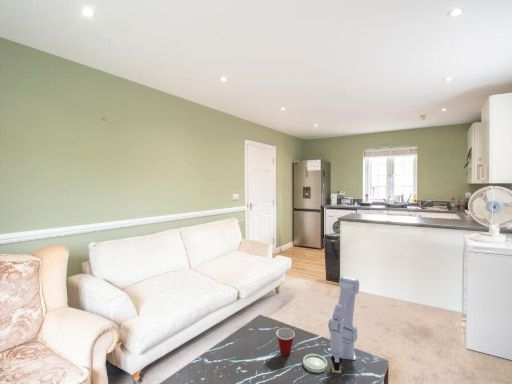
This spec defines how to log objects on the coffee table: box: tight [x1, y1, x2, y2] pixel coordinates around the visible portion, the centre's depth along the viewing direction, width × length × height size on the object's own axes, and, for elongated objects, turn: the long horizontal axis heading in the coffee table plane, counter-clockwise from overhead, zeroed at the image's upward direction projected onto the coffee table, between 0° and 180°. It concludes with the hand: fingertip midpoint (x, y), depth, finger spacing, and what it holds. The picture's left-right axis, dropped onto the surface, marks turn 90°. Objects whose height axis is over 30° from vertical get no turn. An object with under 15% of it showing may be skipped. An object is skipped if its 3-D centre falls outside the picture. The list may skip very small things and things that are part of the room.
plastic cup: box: [275, 327, 296, 356], centre depth 159 cm, size 11×11×12 cm
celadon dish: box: [302, 353, 328, 374], centre depth 149 cm, size 13×13×2 cm
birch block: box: [331, 361, 342, 374], centre depth 144 cm, size 4×4×4 cm
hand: (336, 367), depth 144 cm, fingers closed on birch block, 4 cm apart
